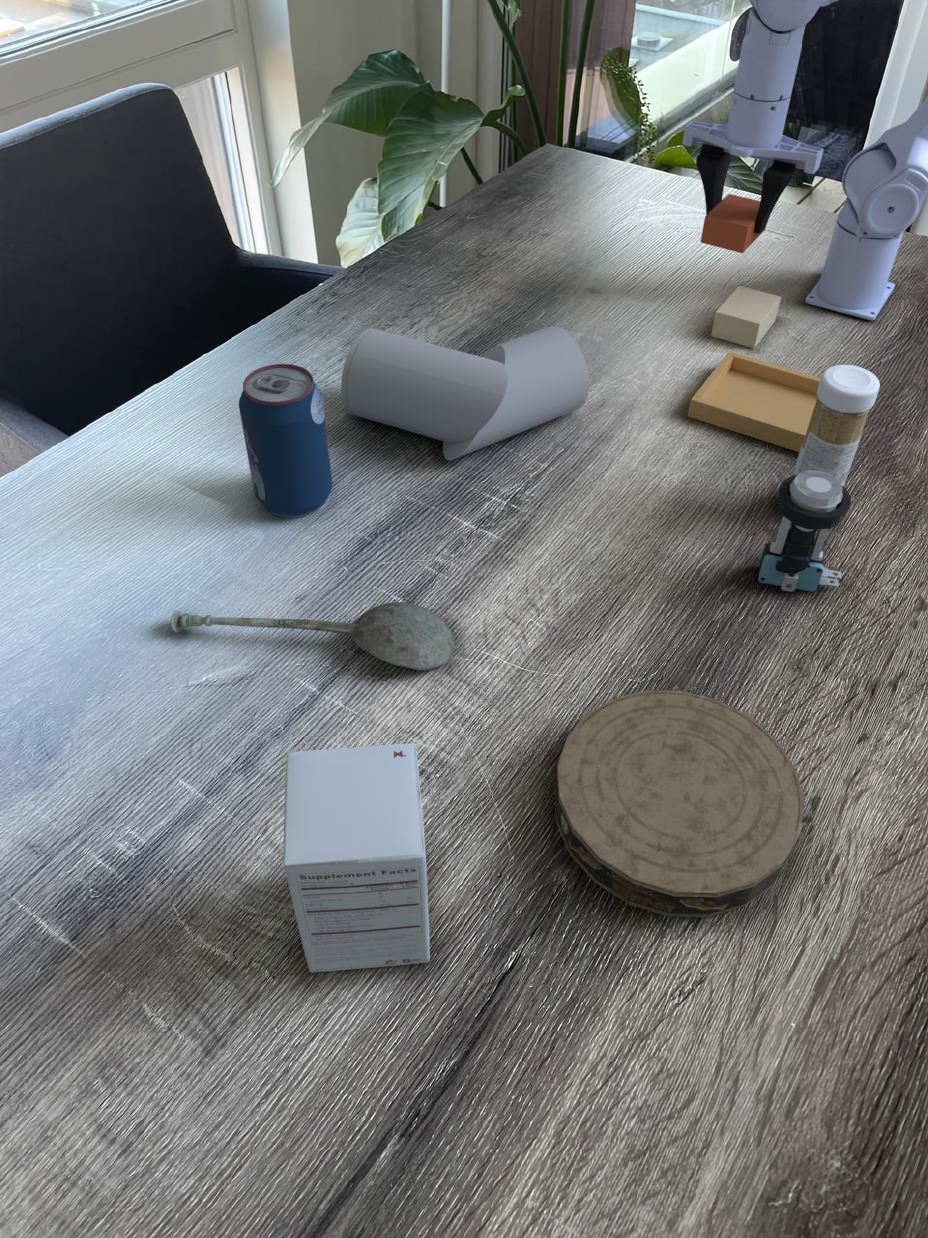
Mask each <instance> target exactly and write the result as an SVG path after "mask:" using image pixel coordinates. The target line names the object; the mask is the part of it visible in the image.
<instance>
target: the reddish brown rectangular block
mask: <svg viewBox="0 0 928 1238" xmlns="http://www.w3.org/2000/svg"><path fill="white" fill-rule="evenodd" d="M760 201H761V200H756V199H753V198H749V197H744V196H740V195H737V194H736V195H735V194H731V193H728V194H727V195H726V196H725V197H724V198H722V201H721V202H720V203H719V204H718V205H717V206H715V207H714V208H713V209H712V210H711V211H710V212H709V213H708V214H707V215H706V214H705V216H704V219H703V220H704V221H703V225H702V230H701V231H702V232H701V238H700V243H701V244H704V245H710V246H713V247H715V248H721V249H724V250H728V251H732V252H735V253H740V254H744V253H745V252H746V251H747V250H748V249H749V247H751V246H752V245H753V243H754V242H755V241H756V240H757V239H759V237H760V236H761V235H762V234H763V233H764V232H765V230H766V228H765V229H764V230H763V231H762V232H761V233H760V234H758V233H754V228H755V221H756V217H757V213H758V210H759V206H760Z"/></svg>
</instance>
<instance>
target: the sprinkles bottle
mask: <svg viewBox="0 0 928 1238" xmlns="http://www.w3.org/2000/svg"><path fill="white" fill-rule="evenodd" d="M820 378H821V379H820V382H819V386H818V389H817V398H816V399H817V401H816V403H815V407H814V410H813V413H812V416H811V419H810V422H809V426H808V428H807V432H806V435H805V438H804V442H803V444H802V446H801V449H800V452H798V455H797V459H796V462H795V466H794V469H793V475H797V474H799V473H801V472H805V471H808V470H811V471H821V472H825V473H828V474H831V475H832V476H834V477H835V478H837V479H838V480H839V481H840V483H841V484H842V486H843V487H845V484H846V481H847V478H848V476H849V472H850V470H851V467H852V464H853V461H854V459H855V455H856V452H857V449H858V447H859V444H860V441H861V438H862V434H863V431H864V428H865V424H866V421H867V419H868V416H869V413H870V411H871V410H872V409H873V407H874V405H875V403H876V400H877V397H878V394H879V391H880V387H881V385H880V380H879V378H878V377H877V376H876V375H875V374H874V373H873V372H871V371H869V370H868V369H866V368H864V367H861V366H857V365H852V364H838V365H833V366H832V365H831V366H830V367H828V368H827V369H825V370H824V371H823V372H822V374H821V377H820Z"/></svg>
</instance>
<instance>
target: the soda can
mask: <svg viewBox="0 0 928 1238" xmlns="http://www.w3.org/2000/svg"><path fill="white" fill-rule="evenodd" d="M238 409H239V415H240V421H241V425H242V432H243V439H244V443H245V449H246V454H247V460H248V467H249V471H250V476H251V477H250V478H251V483H252V488H253V494H254V496H255V498H256V499H257V501H258V502H259V503H260V504H261V505H262V506H263V507H264V508H265V509H266V510H267V511H268V512H270V513H272V514H273V515H274V516H278V517H282V518H290V519H292V518H293V519H295V518H301V517H302V518H303V517H306V516H308V515H311V514H313V513H315V512H317V511H318V510H320V509H321V508H322V506H323V505H324V504H325V502H326V501H327V500H328V497H329V496H330V494H331V492H332V489H333V478H332V469H331V468H332V467H331V459H330V450H329V441H328V432H327V424H326V423H327V421H326V413H325V404H324V397H323V393H322V391H321V389H320V388H319V387H318V385H317V384H316V383H315V380H314V377H313V375H312V373H311V372H310V371H309V370H308V369H306V368H304V367H303V366H300V365H296V364H289V363H275V364H268V365H264V366H262V367H258V368H257V369H255V370H253V371H252V372H250V373H249V374H248V375H247V376H246V377H245V379H243V382H242V392H241V394H240V397H239V400H238Z"/></svg>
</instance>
